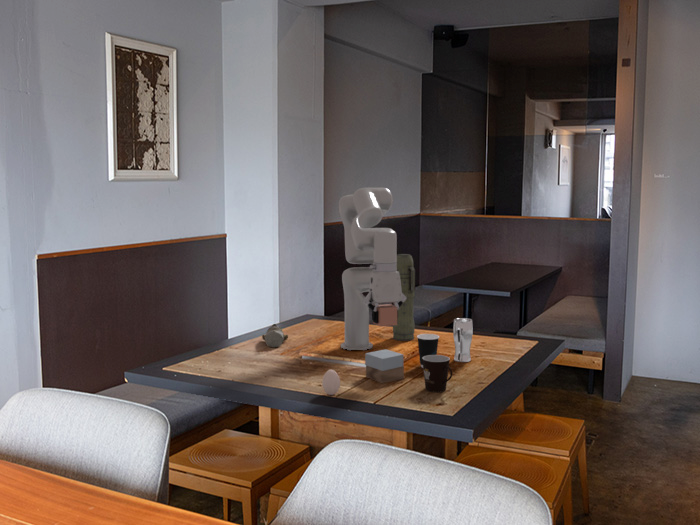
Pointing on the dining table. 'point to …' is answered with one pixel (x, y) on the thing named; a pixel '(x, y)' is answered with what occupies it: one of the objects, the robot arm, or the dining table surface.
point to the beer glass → (462, 339)
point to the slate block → (384, 359)
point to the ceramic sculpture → (274, 336)
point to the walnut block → (385, 374)
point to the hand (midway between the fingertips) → (384, 321)
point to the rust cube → (387, 315)
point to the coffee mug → (436, 372)
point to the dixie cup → (427, 345)
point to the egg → (331, 382)
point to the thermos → (405, 312)
